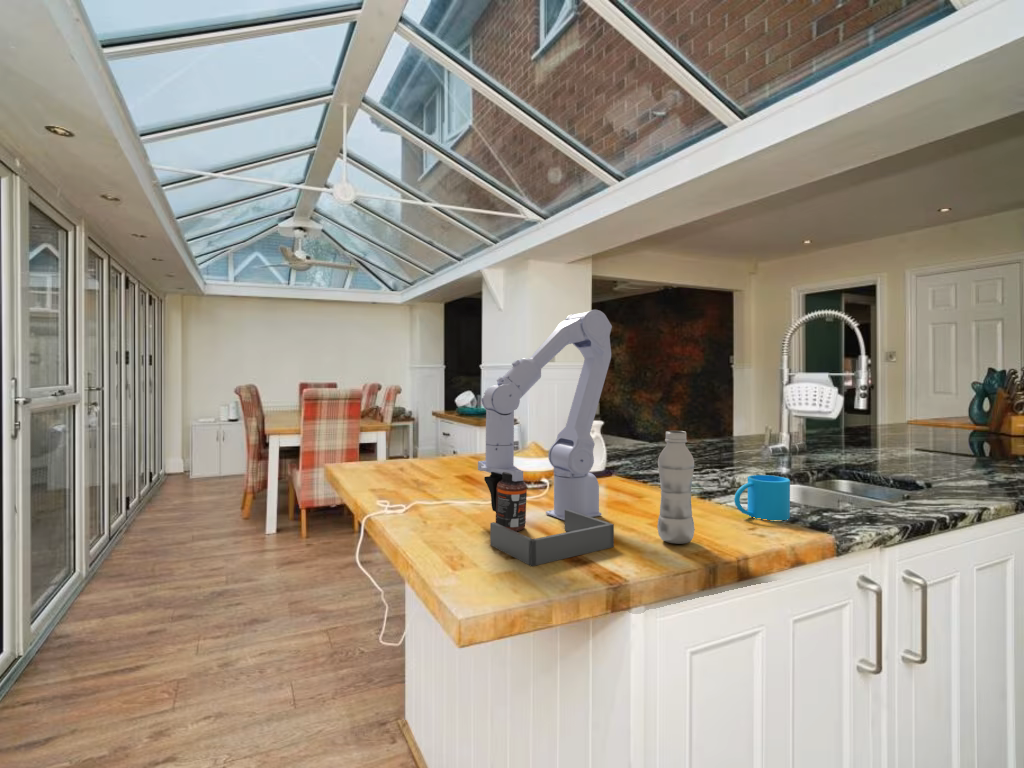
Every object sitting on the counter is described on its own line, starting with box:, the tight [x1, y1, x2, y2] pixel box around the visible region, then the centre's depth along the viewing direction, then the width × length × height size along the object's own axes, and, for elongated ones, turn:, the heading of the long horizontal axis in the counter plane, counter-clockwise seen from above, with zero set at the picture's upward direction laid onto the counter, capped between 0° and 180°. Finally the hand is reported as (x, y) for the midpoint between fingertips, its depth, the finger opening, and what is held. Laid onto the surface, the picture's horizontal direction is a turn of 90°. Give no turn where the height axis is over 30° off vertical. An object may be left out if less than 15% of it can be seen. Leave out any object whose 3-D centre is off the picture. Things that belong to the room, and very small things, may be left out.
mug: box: [733, 474, 791, 521], centre depth 116 cm, size 12×8×8 cm
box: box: [489, 509, 615, 567], centre depth 96 cm, size 18×13×4 cm
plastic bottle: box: [657, 430, 695, 545], centre depth 98 cm, size 6×7×20 cm
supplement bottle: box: [495, 472, 528, 532], centre depth 107 cm, size 6×6×11 cm
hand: (498, 511), depth 110 cm, fingers closed
